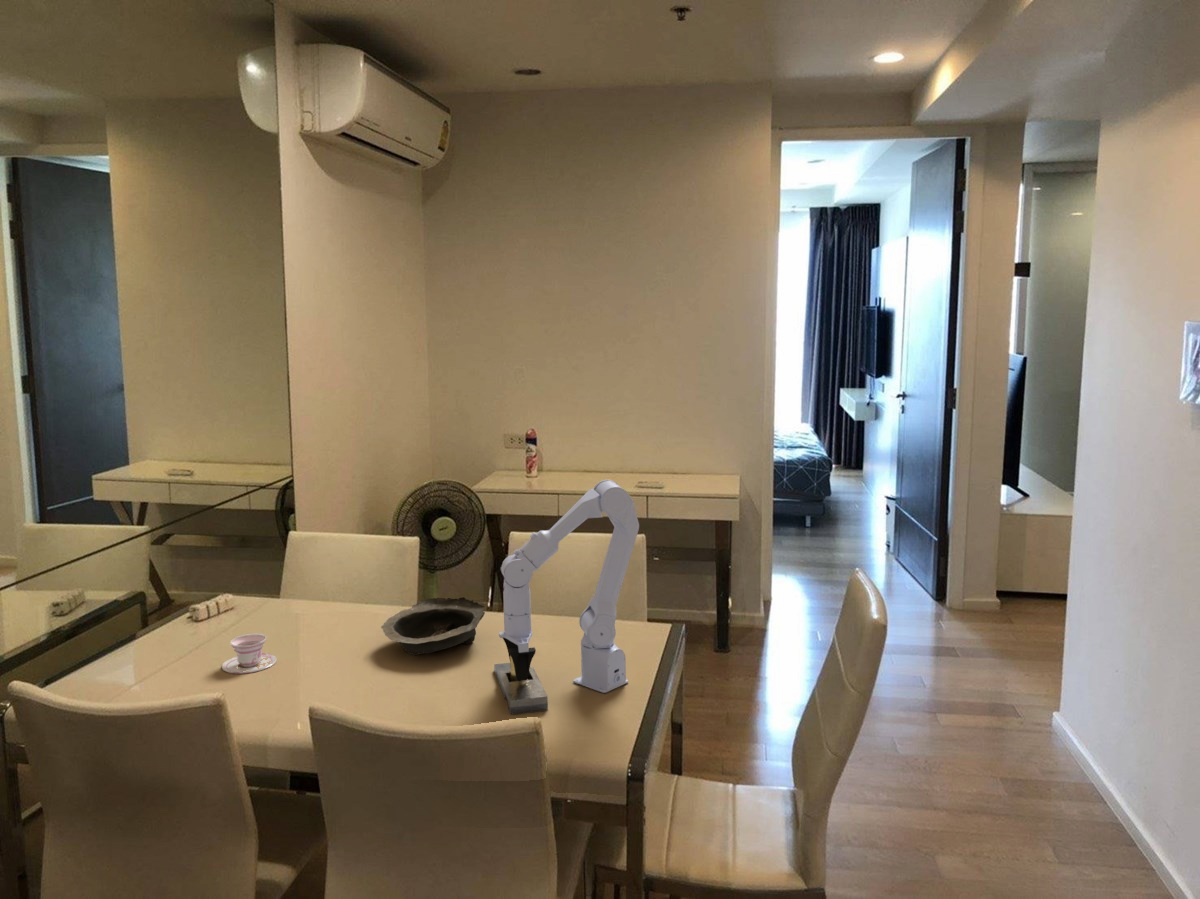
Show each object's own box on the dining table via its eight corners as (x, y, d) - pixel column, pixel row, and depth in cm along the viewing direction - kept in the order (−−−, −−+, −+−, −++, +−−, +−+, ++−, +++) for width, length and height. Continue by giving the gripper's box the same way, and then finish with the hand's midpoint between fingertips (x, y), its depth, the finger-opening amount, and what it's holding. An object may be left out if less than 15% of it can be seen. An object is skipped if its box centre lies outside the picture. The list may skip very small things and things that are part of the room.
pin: (531, 689, 199) (530, 653, 197) (519, 694, 196) (517, 658, 195) (520, 684, 201) (519, 649, 200) (507, 689, 198) (506, 654, 197)
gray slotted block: (494, 670, 209) (494, 658, 209) (527, 667, 211) (527, 654, 210) (510, 714, 186) (510, 700, 186) (547, 710, 188) (547, 696, 187)
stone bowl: (495, 628, 237) (494, 594, 234) (472, 673, 212) (471, 636, 210) (401, 625, 239) (399, 591, 237) (368, 669, 215) (365, 632, 213)
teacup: (259, 676, 208) (257, 650, 208) (211, 673, 211) (208, 647, 210) (286, 656, 220) (284, 631, 219) (240, 654, 222) (238, 629, 221)
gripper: (493, 603, 202) (495, 662, 204) (503, 624, 188) (505, 688, 190) (525, 600, 204) (527, 659, 206) (537, 621, 190) (539, 684, 192)
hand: (519, 673), depth 198 cm, fingers open, 7 cm apart
